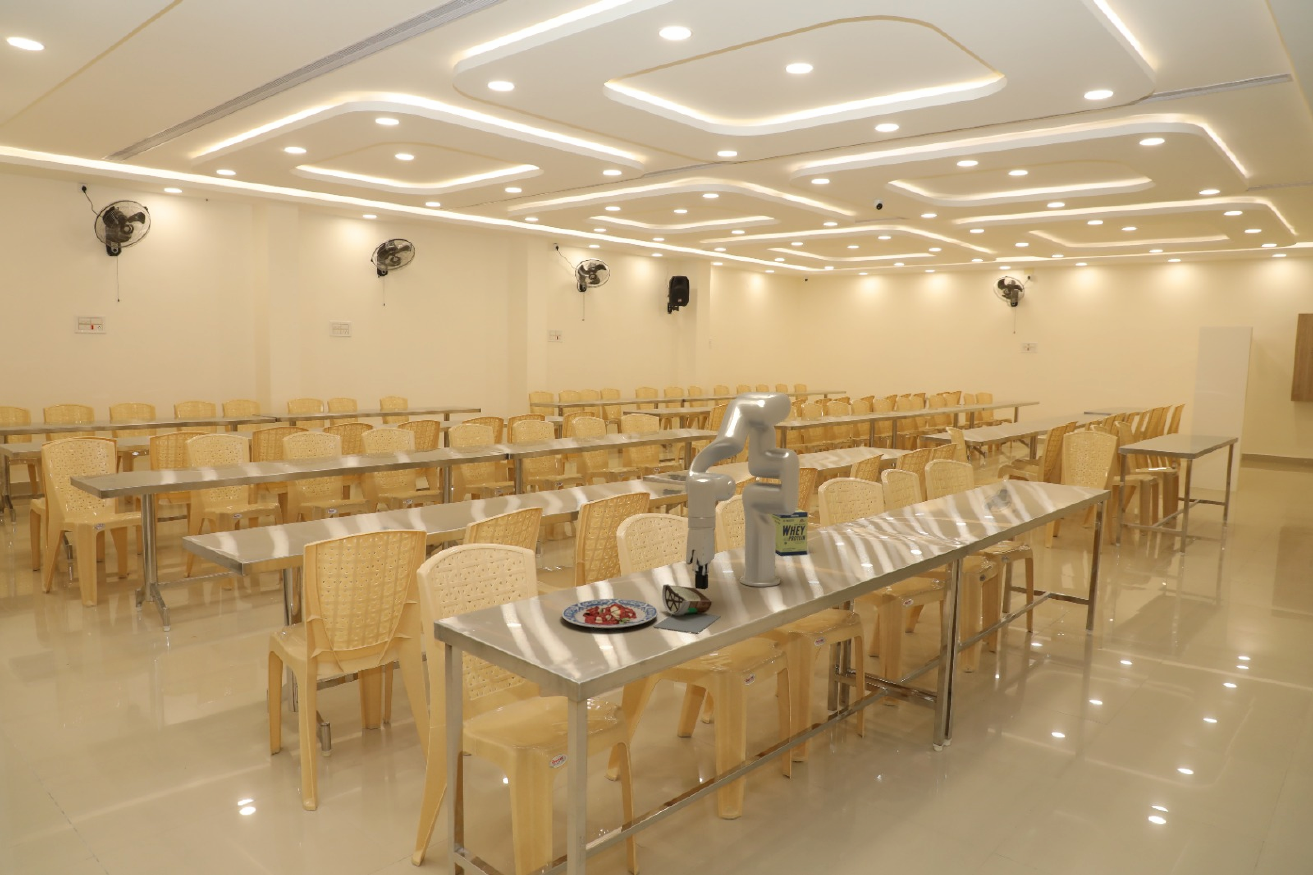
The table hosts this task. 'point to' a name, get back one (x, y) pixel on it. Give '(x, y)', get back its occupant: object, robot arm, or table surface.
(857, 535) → the table surface
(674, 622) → the mat
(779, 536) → the protein box
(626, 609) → the ceramic plate
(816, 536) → the table surface
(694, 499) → the robot arm
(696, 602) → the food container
